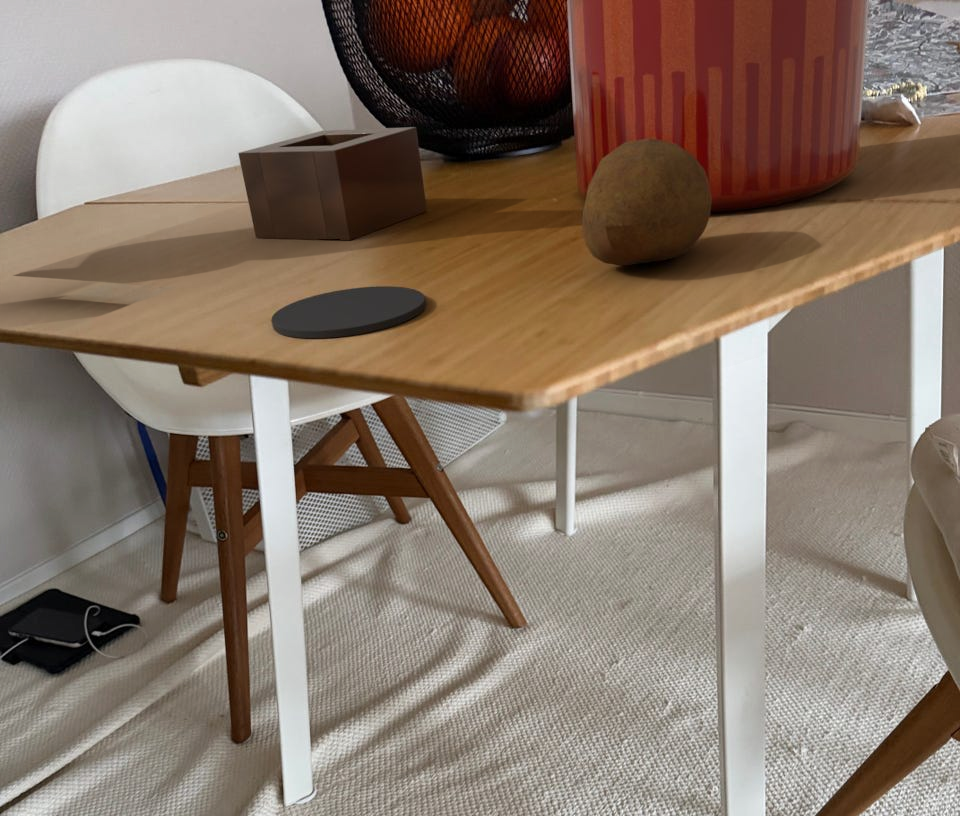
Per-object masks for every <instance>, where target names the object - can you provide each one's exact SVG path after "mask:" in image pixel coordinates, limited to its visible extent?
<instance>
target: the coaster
mask: <svg viewBox="0 0 960 816" xmlns="http://www.w3.org/2000/svg"><path fill="white" fill-rule="evenodd" d="M425 307H427V300H426V296H425V295H424V293H423V292H421V291H419V290H417V289H414V288H410V287H405V286H390V285H389V286H388V285H382V286H377V285H376V286H363V287H354V288H353V287H352V288H346V289H340V290H333V291H328V292H324V293H320V294H315V295H312V296H309V297H305V298H302V299H300V300H296V301H294V302H292V303H289V304H287V305H285V306H283V307H281V308H280V309H278V310H276V312H274V314H273V315H272V316H271V319H270V320H271V325H272V328H273V330H274V331H275V332H276V333H278V334H280V335H283V336H286V337H291V338H296V339H297V338H298V339H333V338H343V337H350V336H357V335H362V334H368V333H373V332H377V331H381V330H384V329H388V328H391V327H394V326H397V325H400V324H403V323H405V322H408V321H410V320H412V319H413V318H412V317H414V318H416V317H417V316H418V315H417V314H419V313H420V314H422V313H423V312H424V311H425V309H426V308H425ZM424 308H425V309H424ZM423 310H424V311H423ZM420 314H419V315H420ZM416 315H417V316H416ZM415 316H416V317H415ZM411 318H412V319H411ZM409 319H410V320H409ZM407 320H408V321H407ZM404 321H405V322H404ZM402 322H403V323H402Z"/></svg>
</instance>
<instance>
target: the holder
mask: <svg viewBox="0 0 960 816" xmlns="http://www.w3.org/2000/svg"><path fill="white" fill-rule="evenodd" d="M417 131H418V130H417V127H416V126H409V127H408V126H407V127H387V128H386V127H385V128H384V127H383V128H381V127H380V128H360V129H359V128H358V129H336V130H335V129H332V130H319V131H316V132H312V133H309V134H308V133H307V134H305V135H301V136H298V137H293V138H290V139H289V138H288V139H285V140H281V141H278V142H274V143H271V144H266V145H262V146H259V147H256V148H255V147H254V148H251V149H248V150H243V151H240V152H238V153H237V154H238V160H239V164H240V169H241V172H242V173H241V174H242V178H243V182H244V187H245V192H246V196H247V202H248V206H249V211H250V216H251V220H252V226H253V230H254V235H255V238H258V239H286V240H288V239H289V240H318V239H340V240H339V241H353V240H354V239H357V238H360V237H363V236H365V235H368V234H370V233H373V232H376V231H379V230H381V229H384V228H387V227H389V226H392V225H394V224H397V223H401V222H403V221H405V220H407V219H410V218H413V217H416V216H419V215H421V214H424V213H426V212H427V211H428V209H427V202H426V200H427V199H426V195H425V185H424V179H423V170H422V162H421V154H420V147H419V140H418V132H417Z"/></svg>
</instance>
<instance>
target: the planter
mask: <svg viewBox="0 0 960 816" xmlns="http://www.w3.org/2000/svg"><path fill="white" fill-rule="evenodd" d="M869 3H870V0H566V12H567V13H566V14H567V32H568V49H569V66H570V86H571V101H572V102H571V103H572V119H573V134H574V135H573V136H574V151H575V153H574V154H575V168H576V184H577V189H578V191H579V192H580V194H582V195H583V196H584V198H586V196H587V191H588V186H589V184H590V182H591V180H592V178H593V176H594V174H595V172H596V170H597V168H598V166H599V164H600V162H601V160H602V158H604V157H605V156H607V155H608V154H609V153H611V152H612V151H614V150H615V149H616V148H618V147H619V146H621V145H622V144H624V143H626V142H631V141H637V140H643V139H649V138H652V139H656V140H661V141H665V142H670V143H674V144H677V145H678V146H680V147H681V148H683V149H684V150H685V151H687V152H688V153H690V154H692V155H693V156H694V157H695V158H696V160H697V161H698V162H699V163H700V165H701V166H702V167H703V169H704V170H705V172H706V176H707V178H708V182H709V187H710V192H711V197H712V202H711V210H710V214H713V213H715V214H716V213H725V212H736V211H744V210H751V209H758V208H764V207H769V206H776V205H781V204H785V203H790V202H794V201H798V200H801V199H806V198H809V197H811V196H814V195H817V194H820V193H822V192H824V191H827V190H828V189H831V188H832V187H834V186H836V185H837V184H839V183H840V182H842V181H843V180H845V179H846V178H847V177H848V176H849V175H851V174H852V173H853V171H854V170H855V169H856V167H857V166H858V162H859V155H860V154H859V153H860V140H861V125H862V112H863V111H862V109H863V96H864V94H863V93H864V82H865V80H864V79H865V63H866V49H867V48H866V47H867V33H868V16H869Z"/></svg>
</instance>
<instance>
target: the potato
mask: <svg viewBox="0 0 960 816" xmlns="http://www.w3.org/2000/svg"><path fill="white" fill-rule="evenodd" d="M711 202H712V197H711V192H710V187H709V182H708V178H707V176H706V172H705V170H704V169H703V167H702V166H701V165H700V163H699V162H698V161H697V160H696V158H695V157H694V156H693V155H692V154H690V153H688V152H687V151H685V150H684V149H683V148H681V147H680V146H678V145H677V144H674V143H670V142H665V141H661V140H656V139H652V138H649V139H643V140H637V141H631V142H626V143H624V144H622V145H621V146H619V147H618V148H616V149H615V150H614V151H612V152H611V153H609V154H608V155H607V156H605V157H604V158H602V160H601V162H600V164H599V166H598V168H597V170H596V172H595V174H594V176H593V178H592V180H591V182H590V184H589V186H588V191H587V196H586V197H585V201H584V205H583V210H582V234H583V239H584V242H585V246H586V247H587V249H588V251H589V252H590V254H591V255H592V257H593V258H595V259H597V260H599V261H600V262H602V263H604V264H607V265H614V266H623V265H624V266H627V265H628V266H629V265H638V264H645V263H652V262H653V263H654V262H662V261H667V260H673V259H676V258H678V257H680V256H682V255H683V254H684V253H686V252H687V251H688V250H690V249H691V248H693V247H694V246H695V245H696V243H697V242H698V241H699V239H700V238H701V237H702V235H703V233H704V232H705V230H706V228H707V226H708V222H709V221H710V217H711V213H710V210H711Z"/></svg>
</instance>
